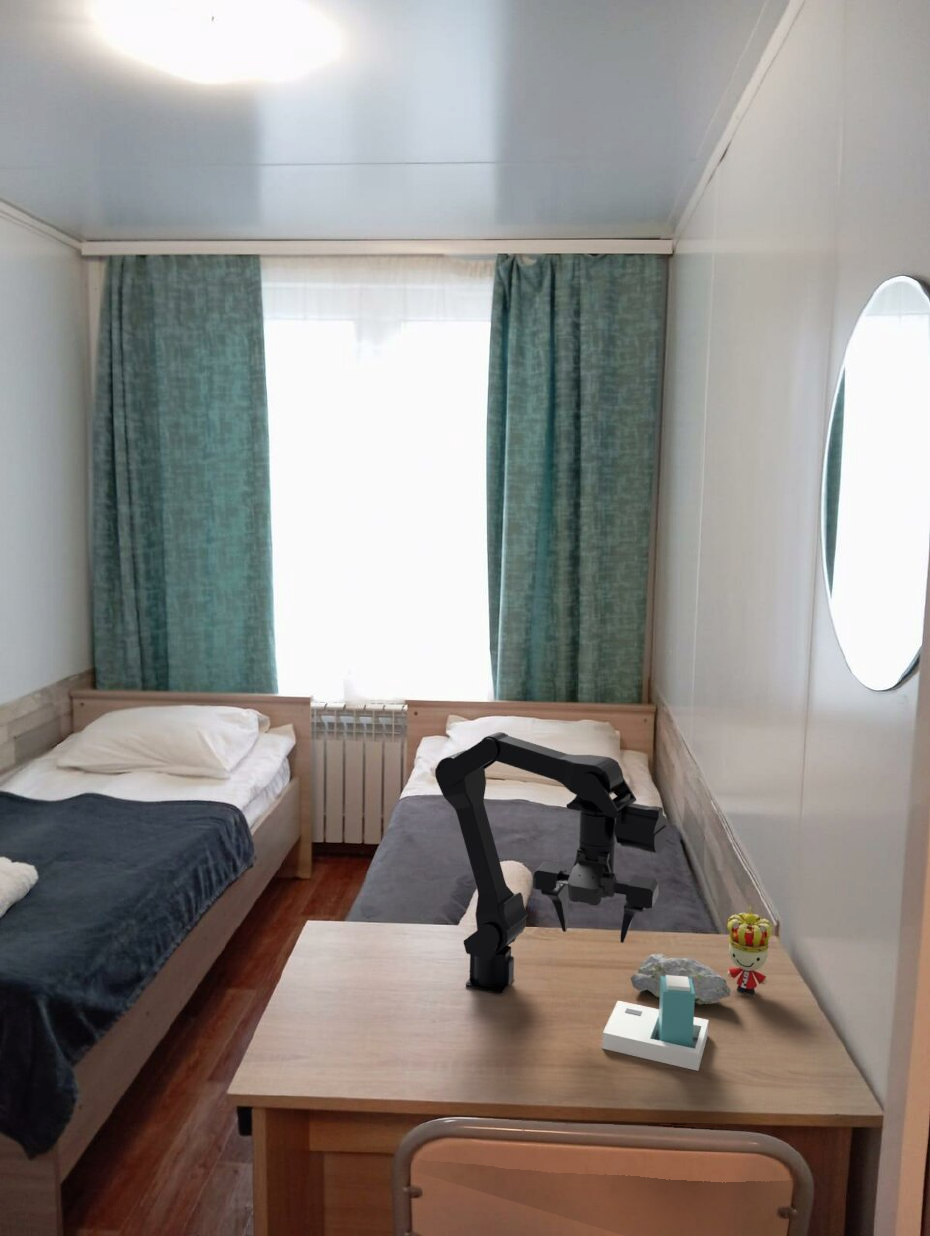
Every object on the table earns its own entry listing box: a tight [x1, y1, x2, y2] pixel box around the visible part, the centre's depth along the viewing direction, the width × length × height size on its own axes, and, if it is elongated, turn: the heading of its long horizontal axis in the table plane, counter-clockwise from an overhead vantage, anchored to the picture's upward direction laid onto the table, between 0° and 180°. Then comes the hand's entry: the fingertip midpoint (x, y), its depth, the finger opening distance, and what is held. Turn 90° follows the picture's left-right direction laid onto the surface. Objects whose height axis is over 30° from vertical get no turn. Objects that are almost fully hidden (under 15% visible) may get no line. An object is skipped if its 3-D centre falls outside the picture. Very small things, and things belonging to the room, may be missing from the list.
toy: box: [726, 904, 773, 996], centre depth 158 cm, size 7×7×15 cm
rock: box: [630, 953, 731, 1005], centre depth 157 cm, size 16×7×7 cm, turn 65°
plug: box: [658, 975, 696, 1048], centre depth 141 cm, size 4×4×10 cm
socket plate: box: [601, 1000, 709, 1072], centre depth 143 cm, size 14×10×3 cm
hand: (593, 936), depth 149 cm, fingers open, 9 cm apart
